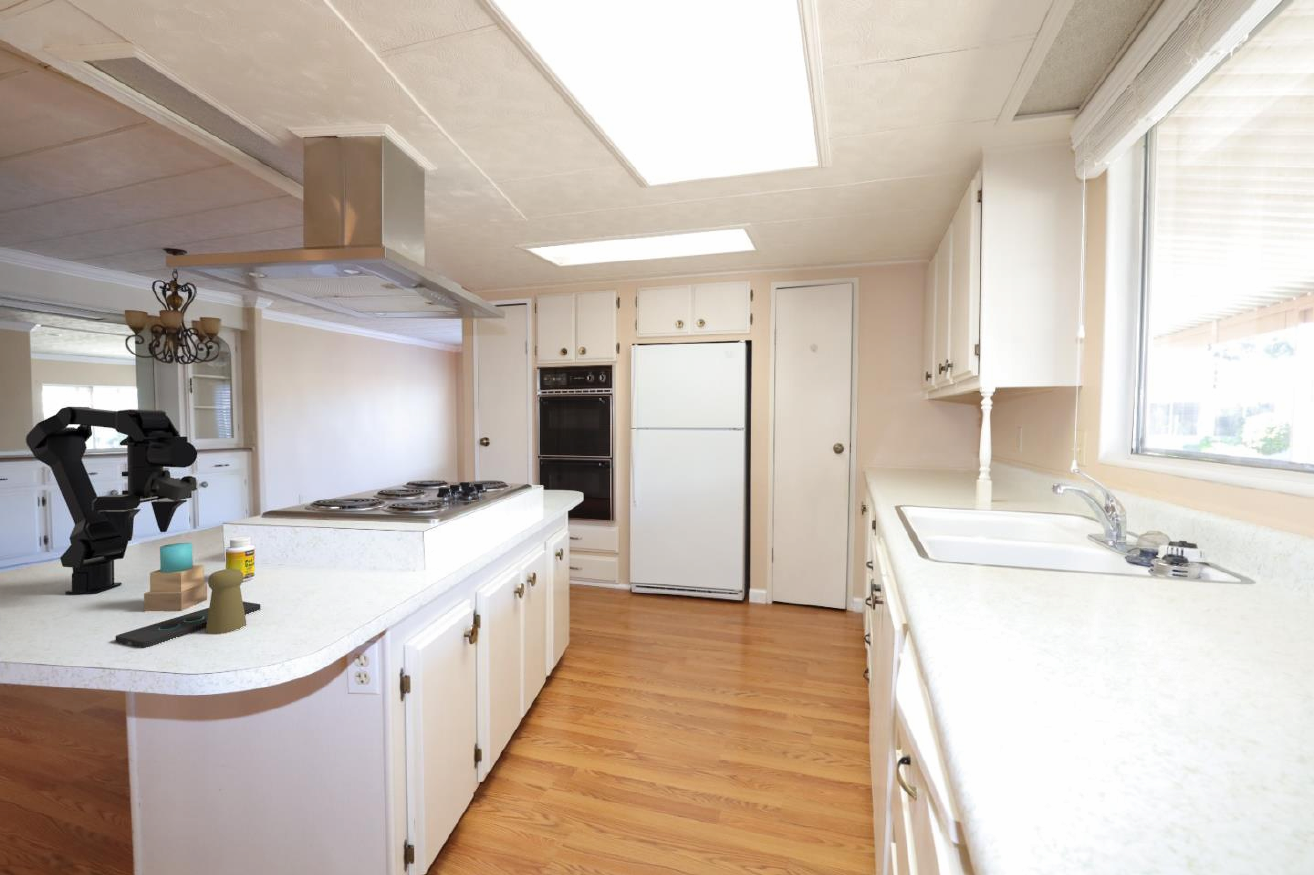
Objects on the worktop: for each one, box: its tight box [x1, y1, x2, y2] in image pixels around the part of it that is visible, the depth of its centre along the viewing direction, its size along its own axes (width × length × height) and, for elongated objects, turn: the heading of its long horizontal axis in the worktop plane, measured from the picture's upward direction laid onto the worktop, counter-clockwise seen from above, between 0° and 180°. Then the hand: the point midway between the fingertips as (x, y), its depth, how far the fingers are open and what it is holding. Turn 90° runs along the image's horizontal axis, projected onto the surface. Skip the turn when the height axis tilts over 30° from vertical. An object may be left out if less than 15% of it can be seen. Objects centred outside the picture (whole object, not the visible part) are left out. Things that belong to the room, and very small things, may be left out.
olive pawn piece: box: [205, 568, 247, 635], centre depth 99 cm, size 6×6×11 cm
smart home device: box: [115, 600, 261, 649], centre depth 101 cm, size 8×2×20 cm
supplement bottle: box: [225, 536, 256, 583], centre depth 128 cm, size 6×6×10 cm
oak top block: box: [149, 564, 205, 592], centre depth 111 cm, size 6×6×4 cm
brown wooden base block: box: [143, 582, 208, 612], centre depth 111 cm, size 7×7×4 cm
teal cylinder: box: [159, 542, 194, 573], centre depth 110 cm, size 5×5×5 cm
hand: (146, 536), depth 117 cm, fingers open, 9 cm apart
